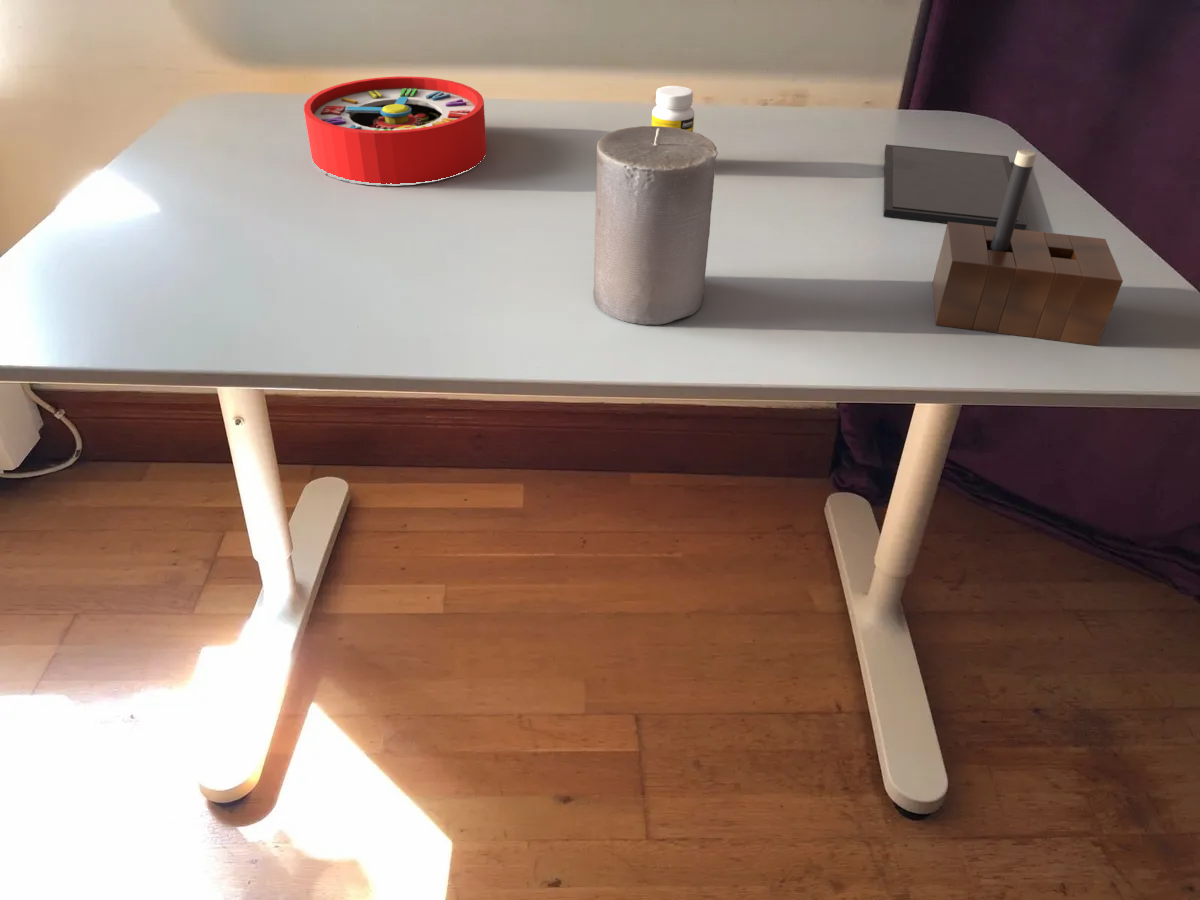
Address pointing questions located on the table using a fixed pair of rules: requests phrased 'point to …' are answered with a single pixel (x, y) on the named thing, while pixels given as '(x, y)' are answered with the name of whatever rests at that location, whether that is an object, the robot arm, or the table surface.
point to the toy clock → (396, 129)
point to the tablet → (946, 186)
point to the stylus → (1013, 199)
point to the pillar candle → (652, 222)
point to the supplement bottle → (674, 108)
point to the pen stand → (1025, 284)
